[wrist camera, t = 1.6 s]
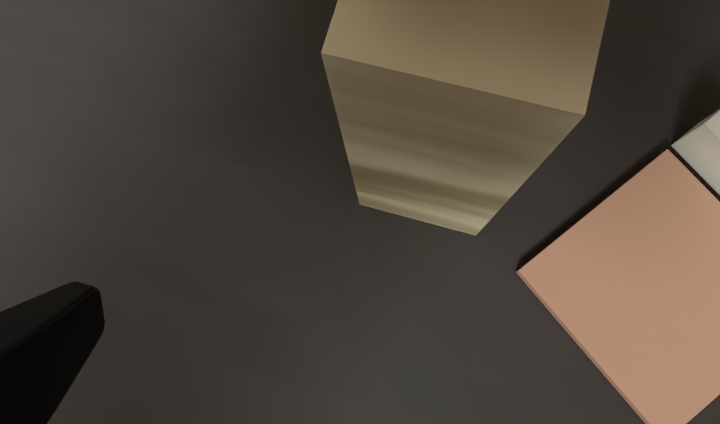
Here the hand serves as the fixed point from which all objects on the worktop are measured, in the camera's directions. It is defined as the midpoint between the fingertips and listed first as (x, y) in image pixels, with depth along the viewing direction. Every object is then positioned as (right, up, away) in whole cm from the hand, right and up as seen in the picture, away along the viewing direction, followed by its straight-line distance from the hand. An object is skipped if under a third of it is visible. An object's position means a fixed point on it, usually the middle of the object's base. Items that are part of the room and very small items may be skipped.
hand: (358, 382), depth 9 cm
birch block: (+3, +5, +15) cm, 16 cm away
